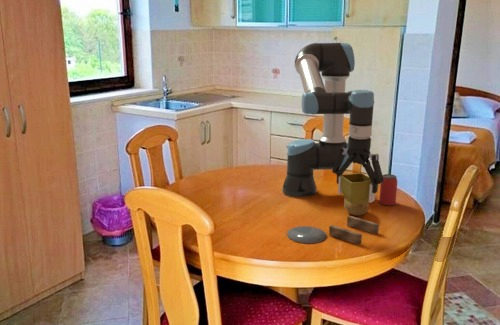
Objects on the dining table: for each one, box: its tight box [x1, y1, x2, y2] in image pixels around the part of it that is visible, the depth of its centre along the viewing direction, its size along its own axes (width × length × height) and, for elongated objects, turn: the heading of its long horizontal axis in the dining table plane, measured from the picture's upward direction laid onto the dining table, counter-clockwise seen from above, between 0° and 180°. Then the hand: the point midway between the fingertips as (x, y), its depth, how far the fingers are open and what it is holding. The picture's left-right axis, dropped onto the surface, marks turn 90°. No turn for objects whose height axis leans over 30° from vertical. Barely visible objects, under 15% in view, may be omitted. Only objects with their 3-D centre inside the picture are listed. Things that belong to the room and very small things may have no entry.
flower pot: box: [341, 172, 372, 204], centre depth 172 cm, size 9×9×9 cm
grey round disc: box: [286, 225, 327, 245], centre depth 176 cm, size 14×14×1 cm
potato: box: [343, 198, 370, 216], centre depth 195 cm, size 10×14×8 cm
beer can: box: [379, 173, 398, 207], centre depth 205 cm, size 7×7×12 cm
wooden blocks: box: [328, 215, 380, 246], centre depth 176 cm, size 12×14×4 cm
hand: (355, 197), depth 173 cm, fingers closed on flower pot, 12 cm apart
